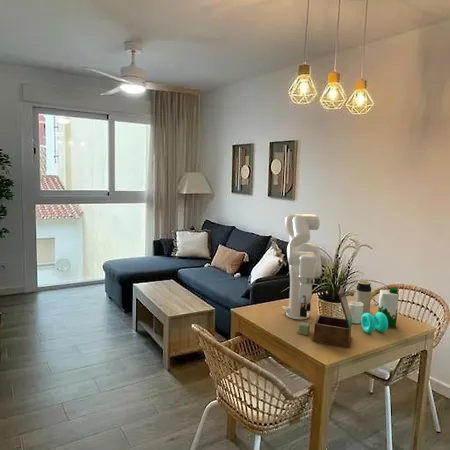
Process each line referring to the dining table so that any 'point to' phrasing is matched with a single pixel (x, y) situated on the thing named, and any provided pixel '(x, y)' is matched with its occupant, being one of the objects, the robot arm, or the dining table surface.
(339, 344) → the chest
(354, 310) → the white cup
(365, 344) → the dining table surface
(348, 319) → the lid
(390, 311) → the milk carton
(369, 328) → the turquoise yo-yo
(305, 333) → the block
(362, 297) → the travel mug
